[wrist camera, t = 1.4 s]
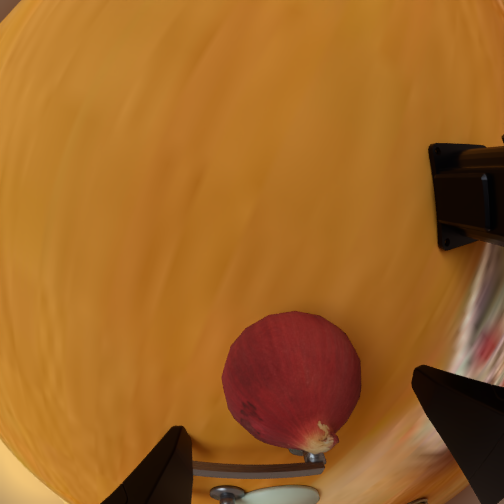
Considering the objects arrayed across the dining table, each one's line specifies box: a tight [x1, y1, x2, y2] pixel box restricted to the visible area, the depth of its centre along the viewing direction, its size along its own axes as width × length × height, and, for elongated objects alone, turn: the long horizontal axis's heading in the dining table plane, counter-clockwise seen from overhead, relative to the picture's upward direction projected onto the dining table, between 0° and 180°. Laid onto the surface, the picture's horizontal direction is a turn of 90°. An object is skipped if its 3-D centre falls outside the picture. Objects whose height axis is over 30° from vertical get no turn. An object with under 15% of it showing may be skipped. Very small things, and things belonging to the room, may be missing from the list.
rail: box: [192, 449, 326, 504], centre depth 15 cm, size 15×12×3 cm
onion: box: [222, 311, 361, 454], centre depth 10 cm, size 6×6×8 cm
